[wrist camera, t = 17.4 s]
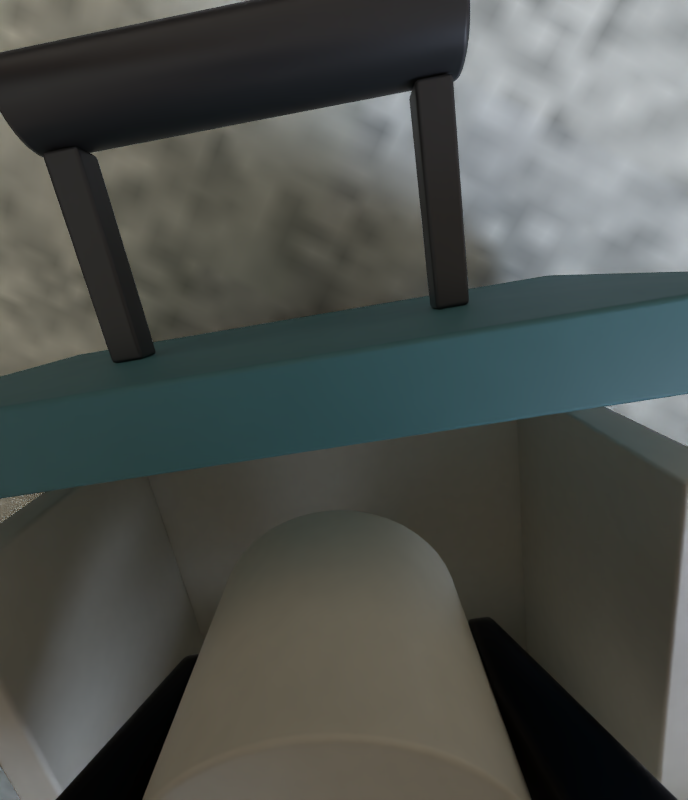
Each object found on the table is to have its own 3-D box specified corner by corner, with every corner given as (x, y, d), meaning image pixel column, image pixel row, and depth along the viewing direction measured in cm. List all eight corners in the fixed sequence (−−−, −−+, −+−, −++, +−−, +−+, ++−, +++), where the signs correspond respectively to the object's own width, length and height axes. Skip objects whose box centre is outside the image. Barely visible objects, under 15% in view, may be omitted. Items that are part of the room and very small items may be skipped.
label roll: (179, 572, 8) (25, 843, 4) (389, 466, 7) (438, 672, 3) (301, 722, 9) (270, 1041, 5) (492, 642, 9) (614, 942, 5)
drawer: (11, 165, 10) (-604, -50, 4) (546, 61, 9) (1001, -435, 3) (195, 679, 15) (80, 985, 8) (555, 633, 14) (731, 926, 8)
